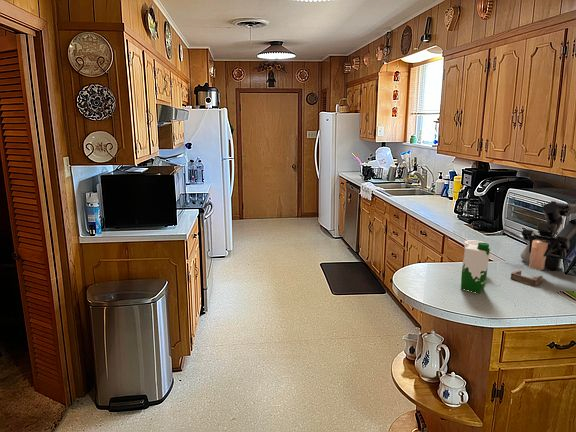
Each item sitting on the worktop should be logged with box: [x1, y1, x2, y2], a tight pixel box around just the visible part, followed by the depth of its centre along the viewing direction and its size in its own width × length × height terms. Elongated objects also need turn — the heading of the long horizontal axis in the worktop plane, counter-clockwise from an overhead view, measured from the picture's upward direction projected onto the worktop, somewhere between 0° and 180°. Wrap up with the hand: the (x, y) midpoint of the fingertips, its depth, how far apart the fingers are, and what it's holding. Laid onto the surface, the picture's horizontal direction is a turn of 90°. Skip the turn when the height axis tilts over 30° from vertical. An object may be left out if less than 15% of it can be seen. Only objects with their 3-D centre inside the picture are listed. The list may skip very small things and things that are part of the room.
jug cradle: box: [510, 269, 544, 286], centre depth 189 cm, size 8×10×2 cm
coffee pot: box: [501, 228, 540, 265], centre depth 213 cm, size 21×12×15 cm, turn 60°
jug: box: [528, 240, 548, 271], centre depth 191 cm, size 8×6×12 cm
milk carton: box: [460, 242, 491, 294], centre depth 176 cm, size 9×9×20 cm
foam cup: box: [464, 239, 486, 249], centre depth 199 cm, size 10×9×13 cm
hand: (537, 254), depth 191 cm, fingers closed on jug, 6 cm apart
